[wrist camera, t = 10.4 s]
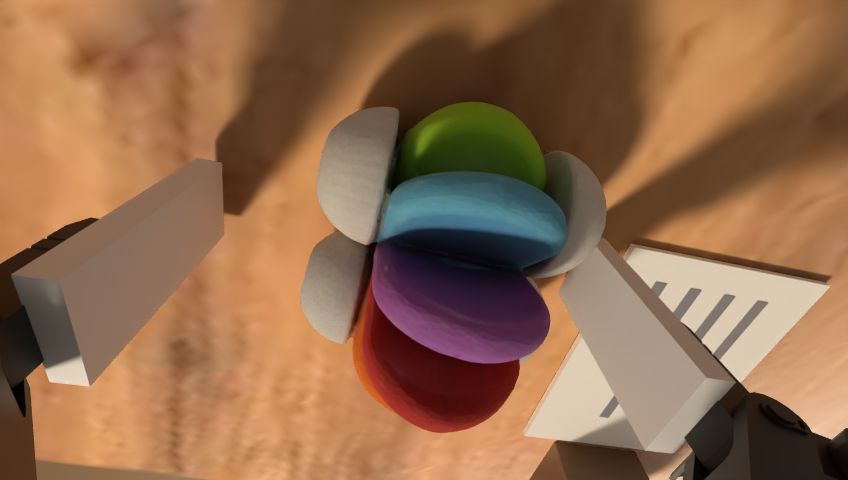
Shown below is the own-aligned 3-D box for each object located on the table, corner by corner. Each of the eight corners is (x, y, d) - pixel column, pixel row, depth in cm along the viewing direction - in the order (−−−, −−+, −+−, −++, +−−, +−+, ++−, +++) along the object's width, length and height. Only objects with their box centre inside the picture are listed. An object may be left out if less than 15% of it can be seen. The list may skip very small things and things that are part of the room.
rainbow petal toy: (309, 299, 16) (241, 481, 10) (351, 52, 11) (275, 91, 5) (497, 336, 17) (545, 517, 11) (603, 128, 13) (790, 235, 6)
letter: (630, 243, 15) (635, 248, 14) (823, 281, 16) (831, 286, 16) (523, 430, 21) (524, 436, 20) (671, 448, 22) (674, 454, 21)
